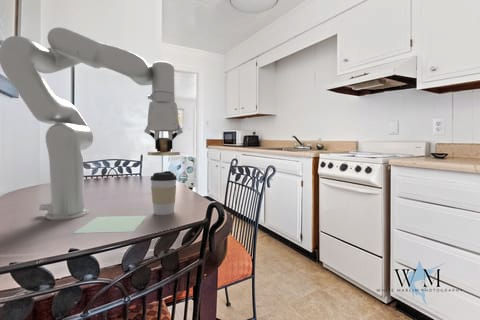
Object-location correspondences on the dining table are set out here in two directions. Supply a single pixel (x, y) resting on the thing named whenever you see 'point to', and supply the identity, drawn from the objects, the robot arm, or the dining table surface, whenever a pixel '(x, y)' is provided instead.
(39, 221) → the dining table surface
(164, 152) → the lid
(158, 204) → the coffee cup
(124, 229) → the mat
